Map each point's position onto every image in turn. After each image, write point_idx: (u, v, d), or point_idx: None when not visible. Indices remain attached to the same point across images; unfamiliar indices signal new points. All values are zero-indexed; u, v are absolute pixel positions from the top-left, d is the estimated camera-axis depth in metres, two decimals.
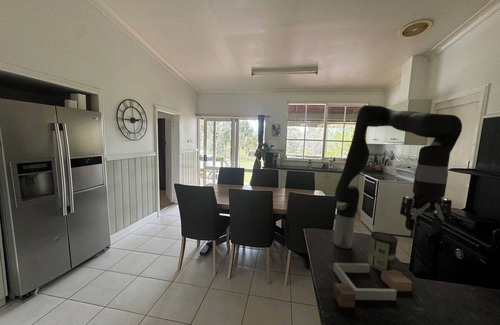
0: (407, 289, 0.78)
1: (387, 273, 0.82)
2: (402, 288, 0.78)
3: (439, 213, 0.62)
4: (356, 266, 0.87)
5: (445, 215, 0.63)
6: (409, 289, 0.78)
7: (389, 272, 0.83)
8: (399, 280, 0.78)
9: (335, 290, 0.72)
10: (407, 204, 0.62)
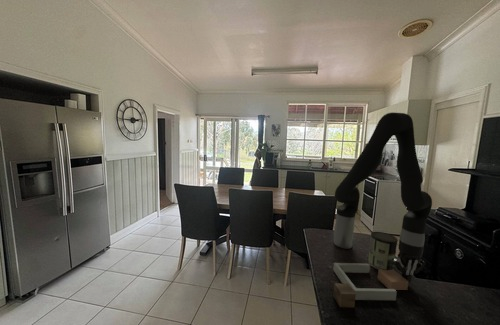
0: (404, 289, 0.78)
1: (384, 273, 0.82)
2: (399, 288, 0.78)
3: (413, 268, 0.79)
4: (356, 266, 0.87)
5: (414, 271, 0.80)
6: (405, 288, 0.78)
7: (385, 272, 0.83)
8: (396, 280, 0.78)
9: (335, 290, 0.72)
10: (397, 266, 0.79)
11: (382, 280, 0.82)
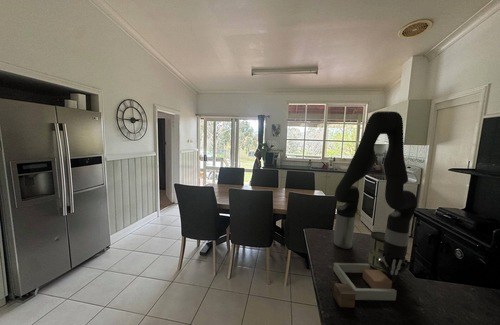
0: (387, 288, 0.78)
1: (368, 272, 0.82)
2: (382, 287, 0.78)
3: (397, 268, 0.79)
4: (356, 266, 0.87)
5: (398, 270, 0.80)
6: (389, 288, 0.78)
7: (370, 271, 0.83)
8: (379, 279, 0.78)
9: (335, 290, 0.72)
10: (381, 265, 0.79)
11: (366, 279, 0.82)
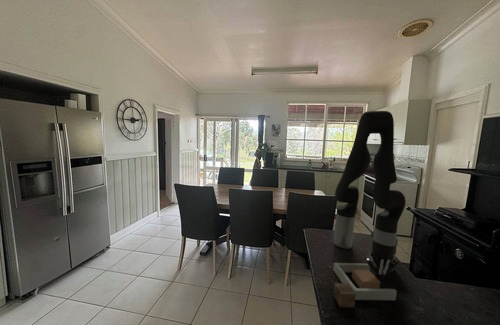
0: None
1: (357, 272, 0.82)
2: (370, 288, 0.77)
3: (385, 268, 0.78)
4: (356, 266, 0.87)
5: (386, 270, 0.79)
6: None
7: (359, 271, 0.83)
8: (367, 280, 0.78)
9: (335, 290, 0.72)
10: (370, 265, 0.79)
11: (355, 279, 0.81)
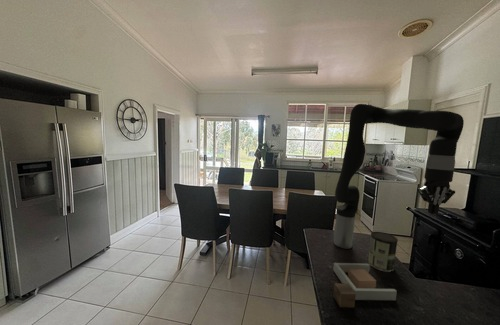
0: (371, 288, 0.78)
1: (353, 272, 0.82)
2: (367, 287, 0.77)
3: (441, 197, 0.73)
4: (356, 266, 0.87)
5: (442, 200, 0.74)
6: (373, 288, 0.78)
7: (355, 271, 0.83)
8: (364, 279, 0.78)
9: (335, 290, 0.72)
10: (424, 194, 0.73)
11: (351, 279, 0.81)
